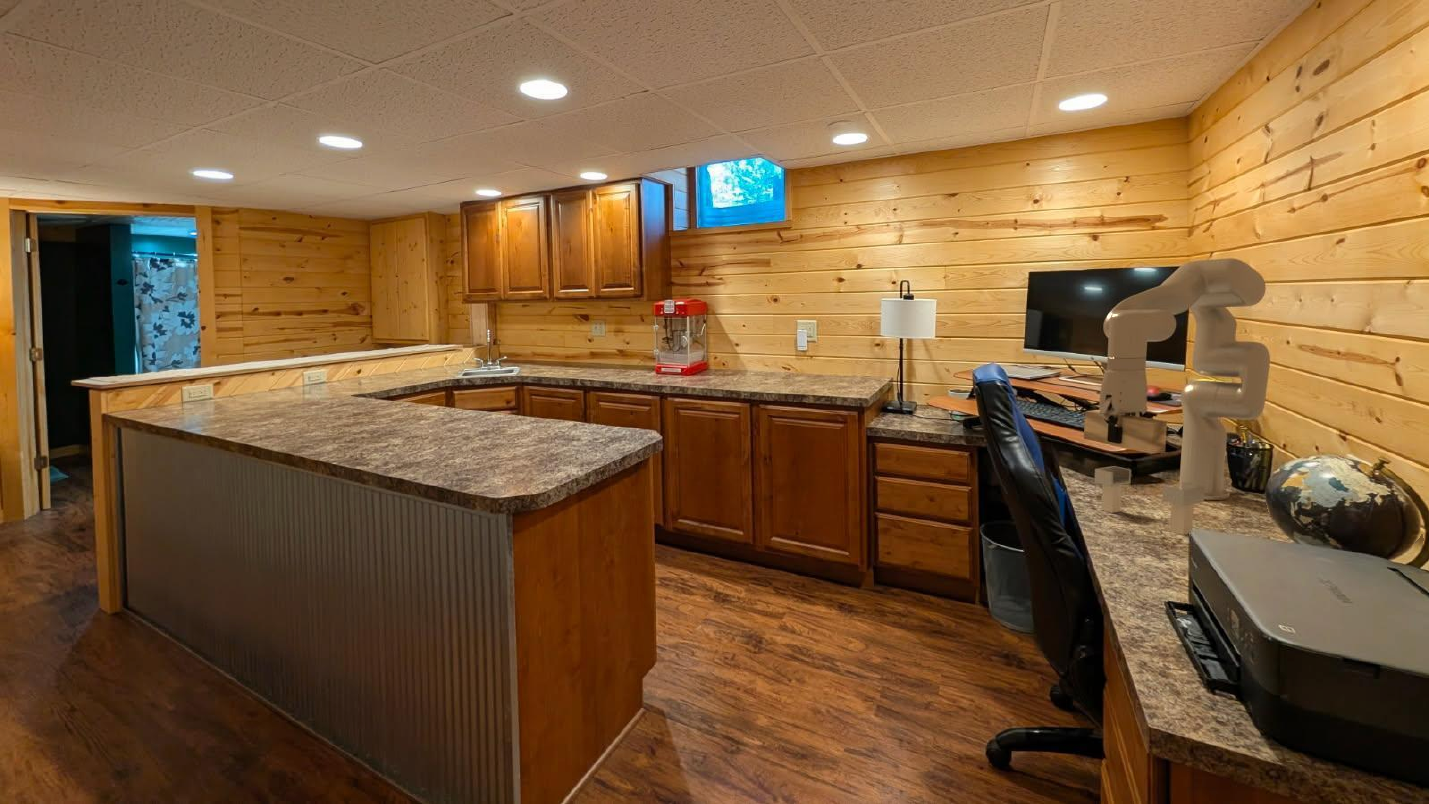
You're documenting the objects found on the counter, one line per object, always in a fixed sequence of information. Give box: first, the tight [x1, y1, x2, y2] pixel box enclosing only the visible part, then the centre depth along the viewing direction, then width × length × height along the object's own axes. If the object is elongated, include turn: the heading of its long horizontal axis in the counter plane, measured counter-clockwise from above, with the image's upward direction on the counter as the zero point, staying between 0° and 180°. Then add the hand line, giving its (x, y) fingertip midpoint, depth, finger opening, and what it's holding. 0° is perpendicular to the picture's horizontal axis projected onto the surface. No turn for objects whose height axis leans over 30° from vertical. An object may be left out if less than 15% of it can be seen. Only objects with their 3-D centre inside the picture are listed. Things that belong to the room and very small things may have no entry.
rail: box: [1083, 409, 1168, 455], centre depth 146 cm, size 4×18×7 cm, turn 15°
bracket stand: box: [1094, 465, 1205, 536], centre depth 151 cm, size 7×22×11 cm, turn 19°
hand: (1122, 440), depth 146 cm, fingers closed on rail, 4 cm apart
